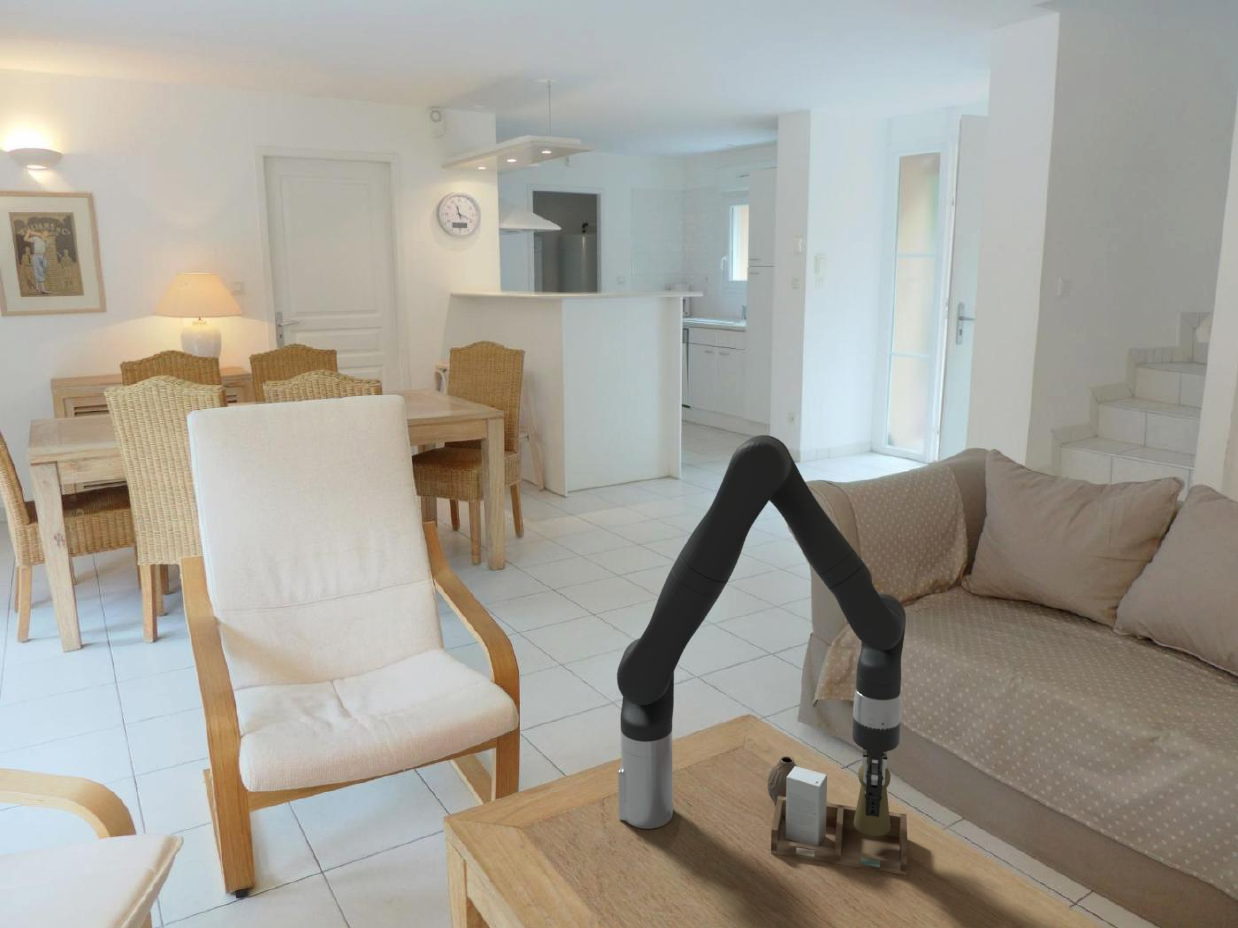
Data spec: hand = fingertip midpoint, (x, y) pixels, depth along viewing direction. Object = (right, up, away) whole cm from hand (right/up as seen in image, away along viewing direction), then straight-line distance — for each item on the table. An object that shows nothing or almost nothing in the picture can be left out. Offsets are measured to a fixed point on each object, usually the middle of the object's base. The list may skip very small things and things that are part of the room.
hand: (872, 807), depth 152 cm
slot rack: (-5, -8, +3) cm, 10 cm away
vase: (-12, -5, +16) cm, 20 cm away
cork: (0, -3, +1) cm, 3 cm away
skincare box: (-10, -7, +5) cm, 13 cm away
